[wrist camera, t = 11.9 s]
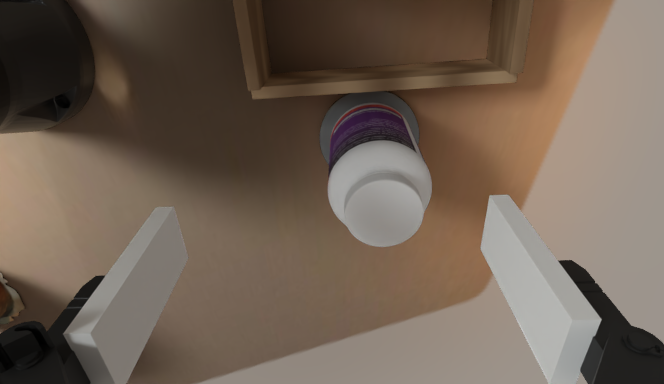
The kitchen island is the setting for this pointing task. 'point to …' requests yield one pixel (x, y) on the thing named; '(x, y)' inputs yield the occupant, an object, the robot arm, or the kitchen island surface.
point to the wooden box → (499, 66)
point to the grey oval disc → (357, 99)
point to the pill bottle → (377, 175)
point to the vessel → (8, 302)
